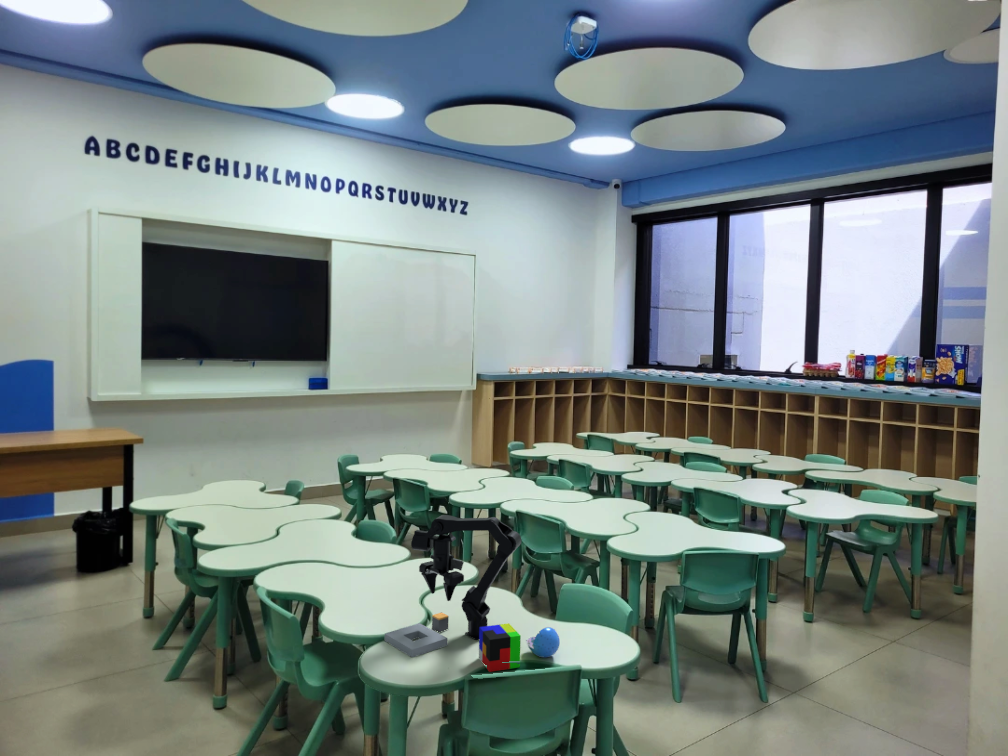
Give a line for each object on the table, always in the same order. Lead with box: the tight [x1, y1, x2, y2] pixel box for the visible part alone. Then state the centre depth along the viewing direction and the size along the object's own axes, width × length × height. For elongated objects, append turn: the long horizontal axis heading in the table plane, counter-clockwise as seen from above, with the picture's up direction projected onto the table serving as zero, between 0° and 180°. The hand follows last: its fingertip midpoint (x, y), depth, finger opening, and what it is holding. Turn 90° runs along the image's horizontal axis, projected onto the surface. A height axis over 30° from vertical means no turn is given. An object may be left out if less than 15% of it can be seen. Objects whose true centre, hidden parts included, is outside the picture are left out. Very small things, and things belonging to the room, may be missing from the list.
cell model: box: [525, 626, 560, 658], centre depth 225 cm, size 10×12×10 cm
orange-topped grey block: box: [431, 612, 449, 633], centre depth 243 cm, size 4×4×5 cm
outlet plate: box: [383, 622, 448, 658], centre depth 232 cm, size 16×14×2 cm
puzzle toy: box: [478, 622, 522, 673], centre depth 219 cm, size 10×10×10 cm
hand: (440, 597), depth 243 cm, fingers open, 9 cm apart
